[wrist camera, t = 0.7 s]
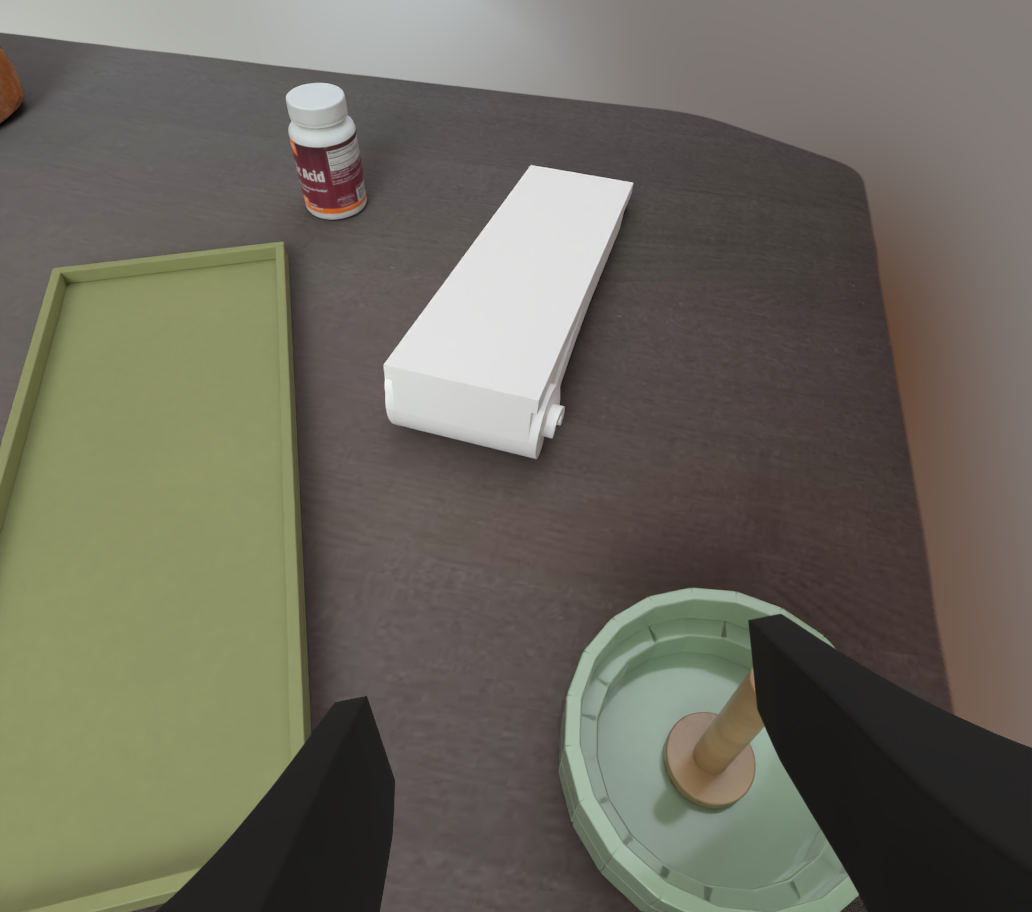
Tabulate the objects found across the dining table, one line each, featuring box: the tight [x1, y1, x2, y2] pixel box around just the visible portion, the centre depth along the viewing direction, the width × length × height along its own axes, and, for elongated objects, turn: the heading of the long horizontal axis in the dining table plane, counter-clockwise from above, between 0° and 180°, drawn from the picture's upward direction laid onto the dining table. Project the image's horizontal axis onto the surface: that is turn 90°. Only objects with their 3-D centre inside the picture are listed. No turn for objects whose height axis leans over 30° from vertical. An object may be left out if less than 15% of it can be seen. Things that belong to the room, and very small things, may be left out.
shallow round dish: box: [558, 588, 859, 912], centre depth 28 cm, size 12×12×4 cm
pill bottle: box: [286, 83, 367, 220], centre depth 52 cm, size 5×5×8 cm
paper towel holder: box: [663, 667, 765, 809], centre depth 25 cm, size 4×4×9 cm
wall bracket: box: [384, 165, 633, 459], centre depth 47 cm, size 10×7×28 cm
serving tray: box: [0, 242, 311, 912], centre depth 37 cm, size 39×15×2 cm, turn 13°
